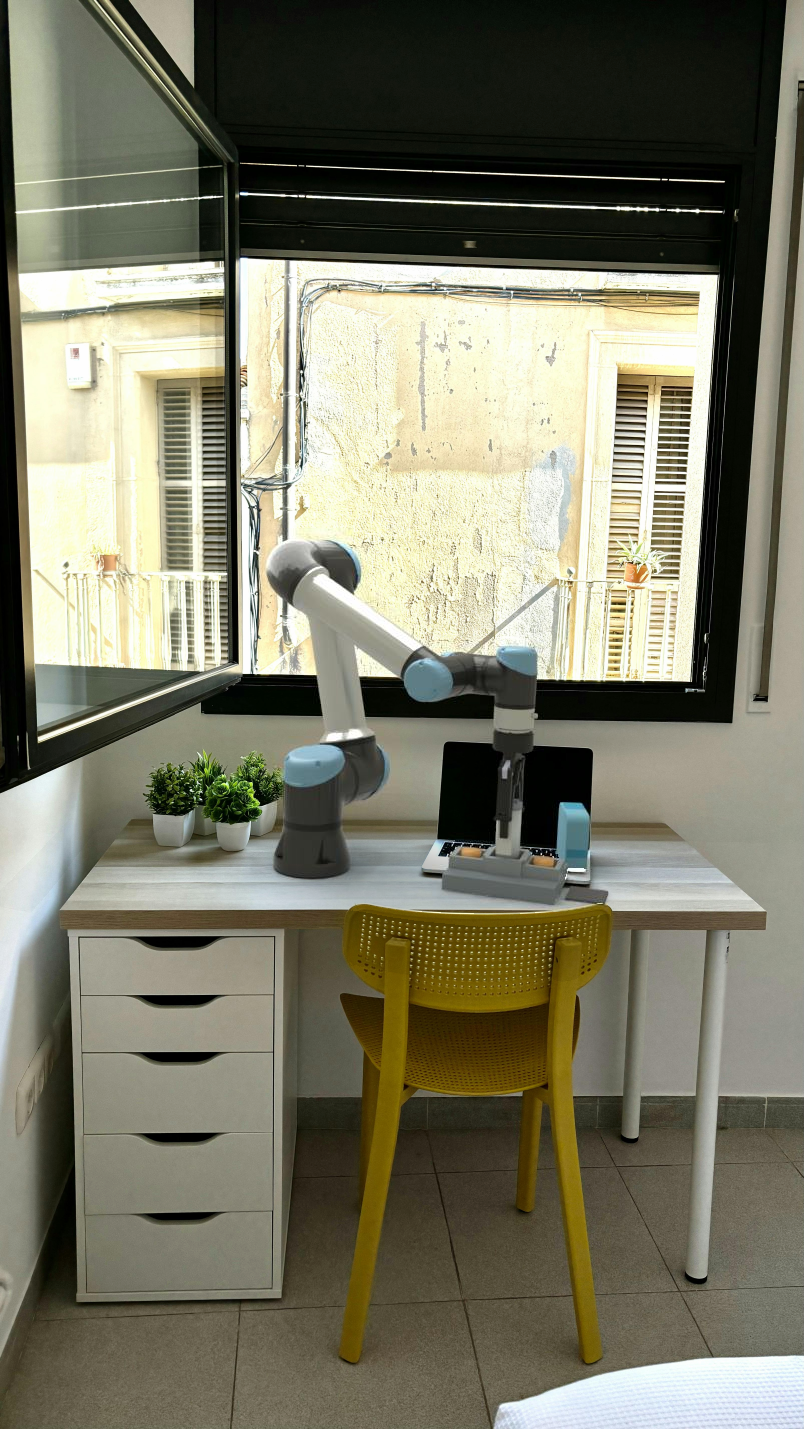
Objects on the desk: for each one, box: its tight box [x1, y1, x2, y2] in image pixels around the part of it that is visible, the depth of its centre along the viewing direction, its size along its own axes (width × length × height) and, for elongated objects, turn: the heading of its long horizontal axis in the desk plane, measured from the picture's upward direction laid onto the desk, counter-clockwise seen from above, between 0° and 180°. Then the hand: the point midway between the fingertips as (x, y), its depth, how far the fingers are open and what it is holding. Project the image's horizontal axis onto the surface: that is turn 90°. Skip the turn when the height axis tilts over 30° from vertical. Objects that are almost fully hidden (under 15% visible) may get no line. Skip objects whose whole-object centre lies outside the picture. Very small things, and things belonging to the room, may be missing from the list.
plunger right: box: [533, 855, 554, 868], centre depth 185 cm, size 4×4×2 cm
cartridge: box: [494, 799, 524, 860], centre depth 186 cm, size 5×5×14 cm
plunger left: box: [461, 846, 481, 858], centre depth 189 cm, size 4×4×2 cm
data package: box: [556, 802, 591, 869], centre depth 200 cm, size 12×4×12 cm, turn 178°
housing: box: [441, 845, 568, 906], centre depth 187 cm, size 21×16×6 cm
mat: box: [564, 885, 609, 905], centre depth 182 cm, size 7×7×1 cm
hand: (507, 848), depth 187 cm, fingers open, 6 cm apart
